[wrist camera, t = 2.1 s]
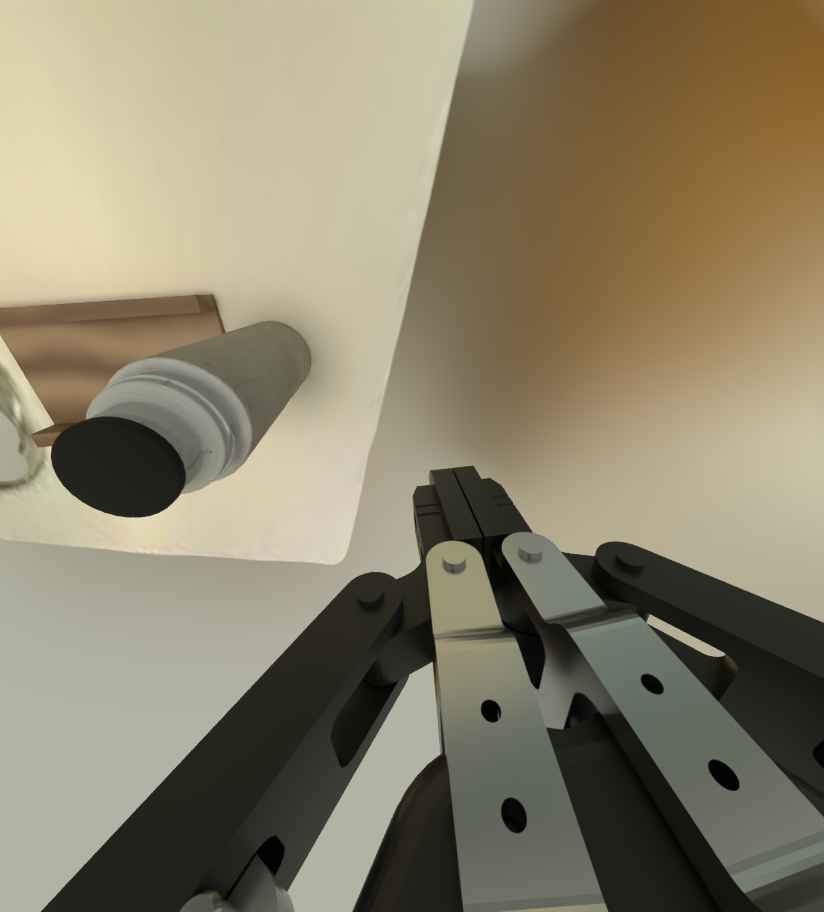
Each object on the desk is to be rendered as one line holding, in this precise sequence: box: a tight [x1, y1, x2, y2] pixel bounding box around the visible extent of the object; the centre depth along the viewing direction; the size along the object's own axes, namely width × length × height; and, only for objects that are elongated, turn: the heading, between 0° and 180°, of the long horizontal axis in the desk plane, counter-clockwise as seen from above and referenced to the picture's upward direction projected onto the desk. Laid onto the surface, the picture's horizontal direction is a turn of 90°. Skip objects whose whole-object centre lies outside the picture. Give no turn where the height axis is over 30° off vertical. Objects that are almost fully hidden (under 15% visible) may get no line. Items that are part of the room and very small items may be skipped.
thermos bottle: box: [51, 321, 311, 517], centre depth 27 cm, size 8×8×28 cm
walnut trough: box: [0, 295, 225, 447], centre depth 36 cm, size 14×22×4 cm, turn 93°
